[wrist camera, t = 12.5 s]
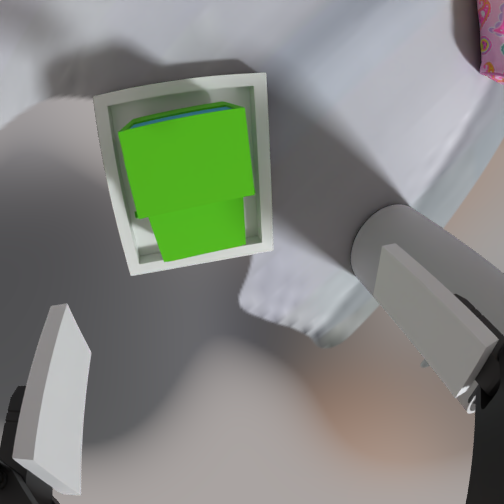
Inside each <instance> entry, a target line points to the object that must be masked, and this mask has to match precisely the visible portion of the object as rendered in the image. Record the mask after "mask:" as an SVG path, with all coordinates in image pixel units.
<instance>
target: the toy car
mask: <svg viewBox="0 0 504 504" xmlns="http://www.w3.org/2000/svg"><path fill="white" fill-rule="evenodd" d="M118 136H119V140H120V145H121V150H122V154H123V159H124V163H125V167H126V171H127V176H128V180H129V184H130V188H131V192H132V196H133V200H134V204H135V207H136V211H134V212H135V217H136V219H137V218H139V219H143V218H147V217H148V218H149V221H150V224H151V227H152V230H153V233H154V235H155V238H156V241H157V244H158V247H159V250H160V252H161V255H162V258H163V261H164V262H170V261H175V260H180V259H184V258H188V257H193V256H197V255H202V254H206V253H211V252H215V251H220V250H225V249H230V248H235V247H239V246H243V245H245V244H246V237H245V219H244V200H243V197H246V196H252V195H255V193H256V192H255V188H254V183H253V174H252V165H251V156H250V147H249V139H248V130H247V121H246V113H245V107H242V106H238V105H235V104H231V103H228V102H224V101H221V102H215V103H209V104H203V105H197V106H191V107H186V108H180V109H175V110H170V111H166V112H161V113H156V114H152V115H147V116H143V117H139V118H135V119H132V120H131V121H130V122H129V123H128V124H127V125H125V126H124V127H123V128H122V129H121V130H120V131H119V132H118Z"/></svg>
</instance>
